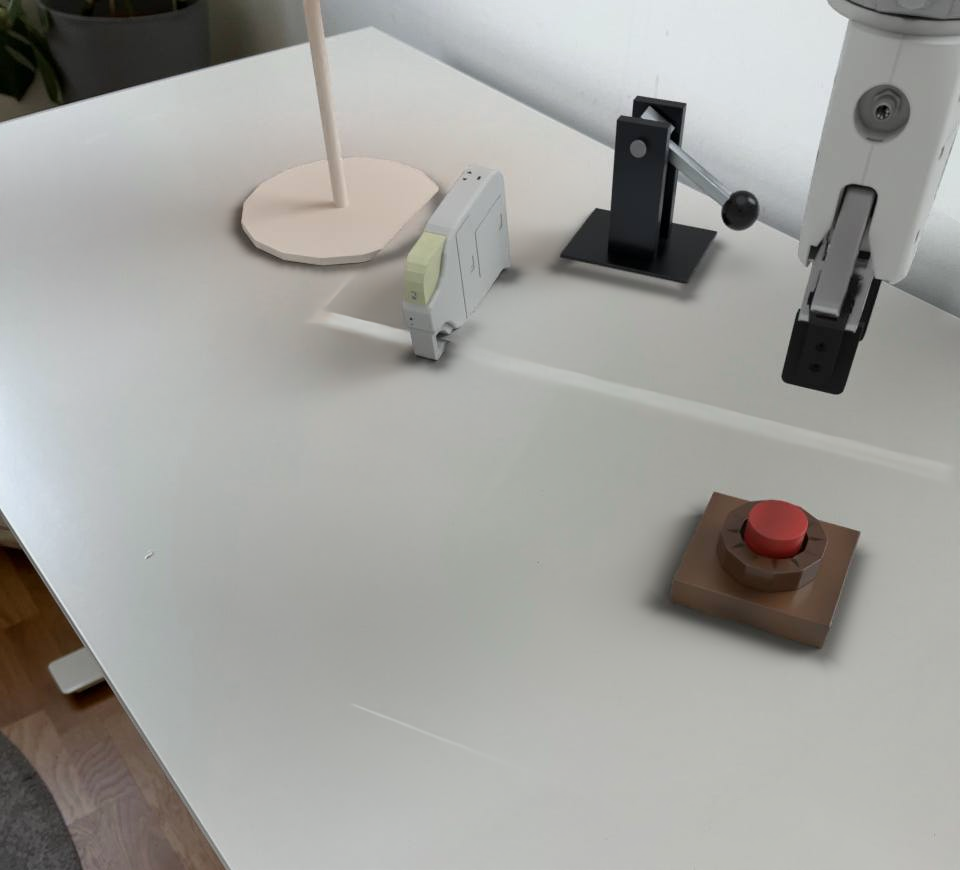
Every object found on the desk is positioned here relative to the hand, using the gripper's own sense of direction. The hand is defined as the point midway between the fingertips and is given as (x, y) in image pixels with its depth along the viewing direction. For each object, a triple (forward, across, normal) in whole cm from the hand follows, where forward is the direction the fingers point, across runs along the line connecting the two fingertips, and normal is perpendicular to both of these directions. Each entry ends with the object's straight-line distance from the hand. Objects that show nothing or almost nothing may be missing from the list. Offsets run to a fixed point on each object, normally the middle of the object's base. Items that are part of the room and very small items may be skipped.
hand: (823, 356), depth 52 cm
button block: (+17, 0, 0) cm, 17 cm away
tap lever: (+10, +35, +17) cm, 40 cm away
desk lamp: (+18, +32, +51) cm, 63 cm away
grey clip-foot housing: (+18, +20, +32) cm, 42 cm away
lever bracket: (+17, +35, +21) cm, 44 cm away
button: (+14, 0, 0) cm, 14 cm away
